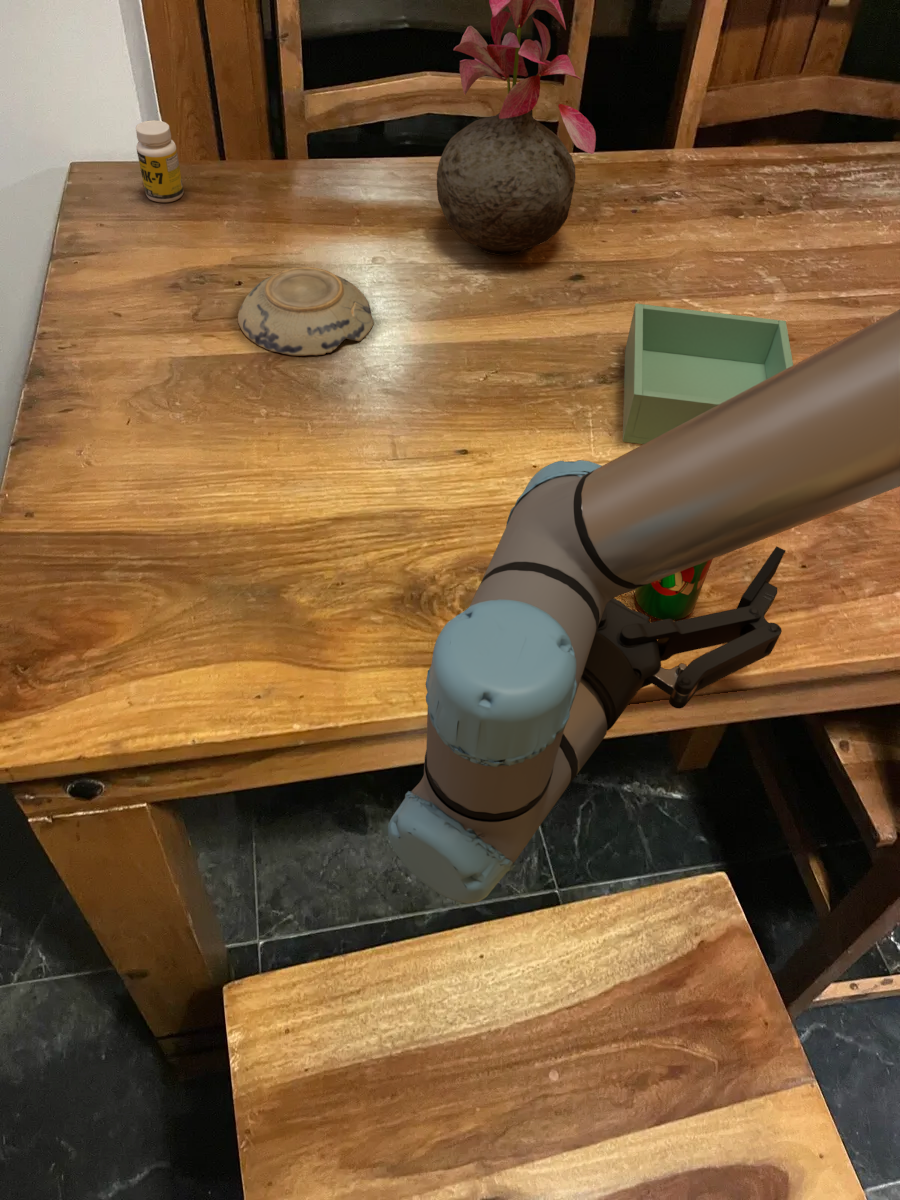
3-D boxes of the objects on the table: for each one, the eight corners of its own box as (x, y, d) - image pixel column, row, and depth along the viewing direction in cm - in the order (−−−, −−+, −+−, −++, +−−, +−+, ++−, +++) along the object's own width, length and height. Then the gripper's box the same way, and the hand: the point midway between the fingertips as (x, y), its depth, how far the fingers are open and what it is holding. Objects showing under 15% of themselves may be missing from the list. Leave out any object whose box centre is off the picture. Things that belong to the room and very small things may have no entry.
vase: (437, 203, 121) (447, -73, 98) (571, 212, 121) (612, -62, 98) (431, 273, 110) (441, -20, 87) (578, 282, 110) (626, -8, 87)
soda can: (672, 572, 81) (708, 468, 72) (705, 614, 78) (746, 511, 69) (622, 588, 79) (652, 484, 70) (653, 632, 76) (688, 528, 67)
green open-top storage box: (769, 367, 101) (786, 320, 97) (782, 461, 91) (802, 414, 87) (625, 350, 102) (635, 302, 97) (622, 442, 92) (634, 394, 87)
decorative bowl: (345, 370, 97) (393, 294, 107) (343, 340, 95) (393, 265, 104) (214, 340, 100) (273, 269, 109) (208, 310, 97) (269, 239, 106)
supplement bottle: (138, 197, 119) (123, 129, 112) (161, 182, 121) (148, 115, 115) (169, 207, 117) (156, 138, 111) (192, 191, 120) (180, 124, 114)
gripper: (419, 645, 71) (565, 492, 83) (711, 823, 62) (828, 625, 74) (421, 579, 65) (577, 425, 77) (743, 766, 57) (864, 561, 68)
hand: (701, 523), depth 75 cm, fingers open, 12 cm apart
